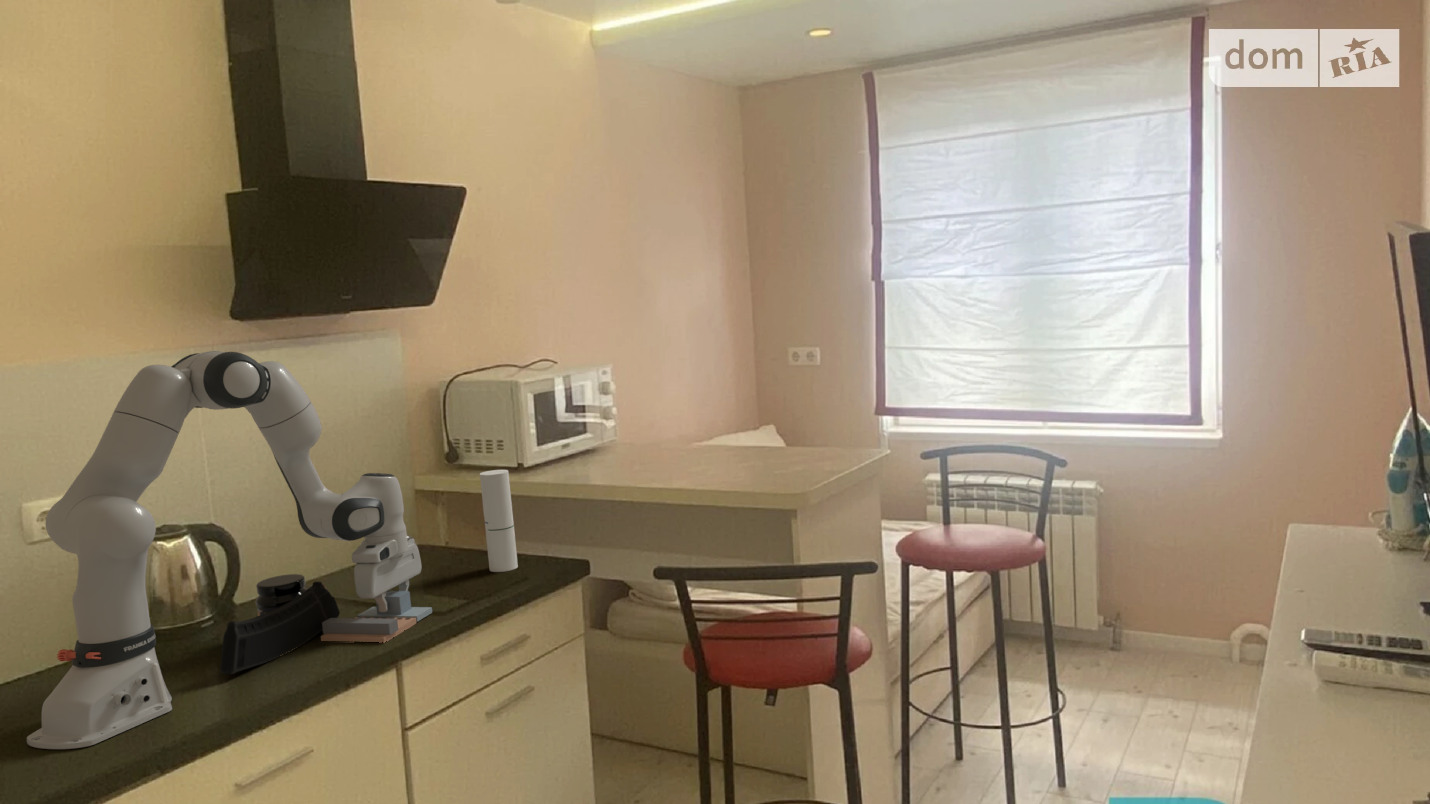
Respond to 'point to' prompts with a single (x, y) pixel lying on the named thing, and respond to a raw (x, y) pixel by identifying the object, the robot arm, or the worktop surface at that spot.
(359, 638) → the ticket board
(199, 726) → the worktop surface
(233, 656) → the magazine
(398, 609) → the grey plate with knob
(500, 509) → the cylindrical container
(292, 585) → the supplement container
